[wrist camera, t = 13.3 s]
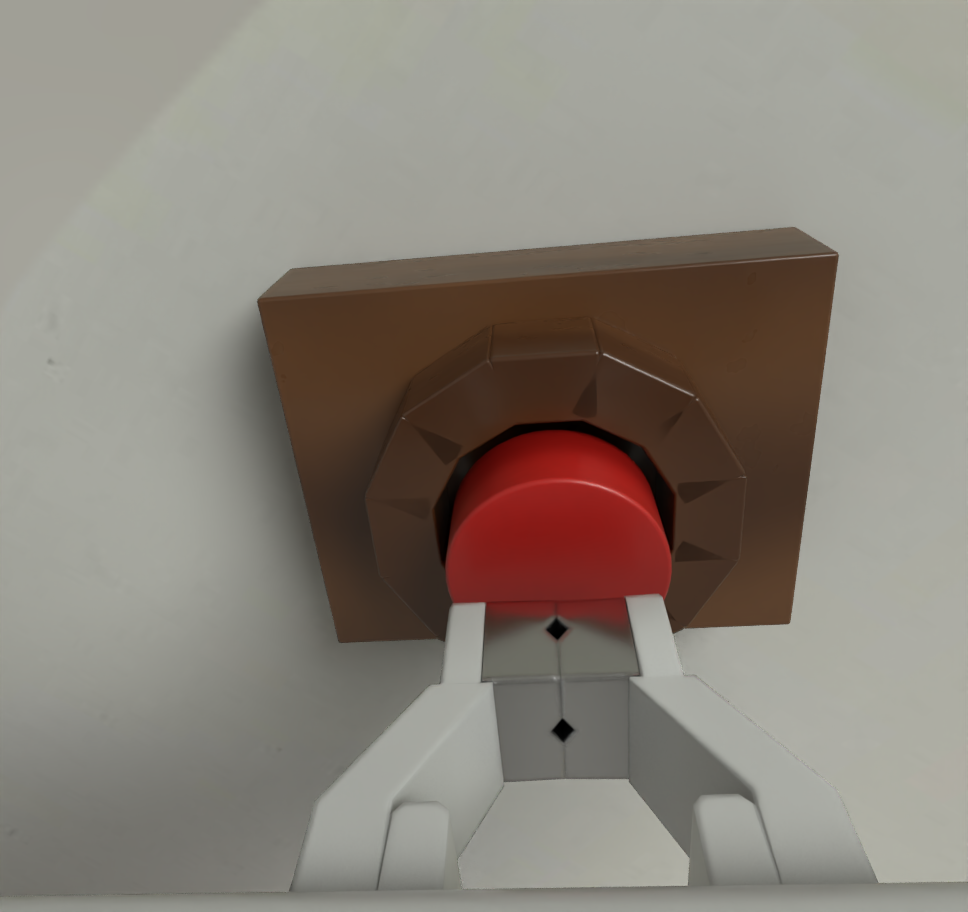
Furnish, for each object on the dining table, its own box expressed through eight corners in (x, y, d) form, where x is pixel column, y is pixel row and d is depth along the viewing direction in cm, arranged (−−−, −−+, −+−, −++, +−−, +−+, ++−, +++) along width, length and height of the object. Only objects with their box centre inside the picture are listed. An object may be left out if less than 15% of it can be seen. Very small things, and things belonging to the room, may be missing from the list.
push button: (441, 434, 13) (431, 486, 11) (656, 421, 12) (675, 472, 11) (463, 601, 14) (457, 667, 13) (652, 593, 14) (669, 658, 12)
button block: (289, 268, 15) (218, 331, 11) (796, 226, 14) (888, 280, 11) (356, 584, 19) (319, 704, 15) (761, 564, 18) (820, 687, 14)
